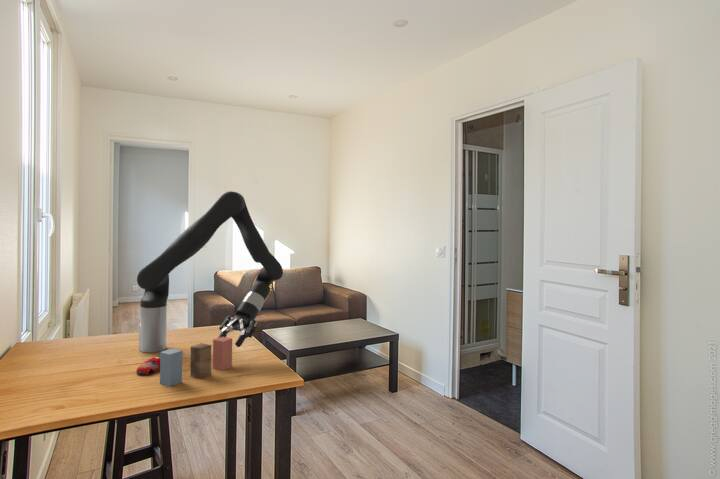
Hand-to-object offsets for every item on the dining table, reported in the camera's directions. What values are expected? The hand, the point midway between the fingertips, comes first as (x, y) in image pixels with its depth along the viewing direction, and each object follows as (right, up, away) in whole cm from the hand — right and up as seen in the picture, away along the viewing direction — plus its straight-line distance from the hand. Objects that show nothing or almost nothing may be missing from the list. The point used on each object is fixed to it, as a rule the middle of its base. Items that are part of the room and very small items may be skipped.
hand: (227, 344), depth 149 cm
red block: (-1, -8, -2) cm, 8 cm away
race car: (-24, -8, -5) cm, 25 cm away
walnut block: (-6, -8, -10) cm, 14 cm away
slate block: (-13, -8, -17) cm, 23 cm away
